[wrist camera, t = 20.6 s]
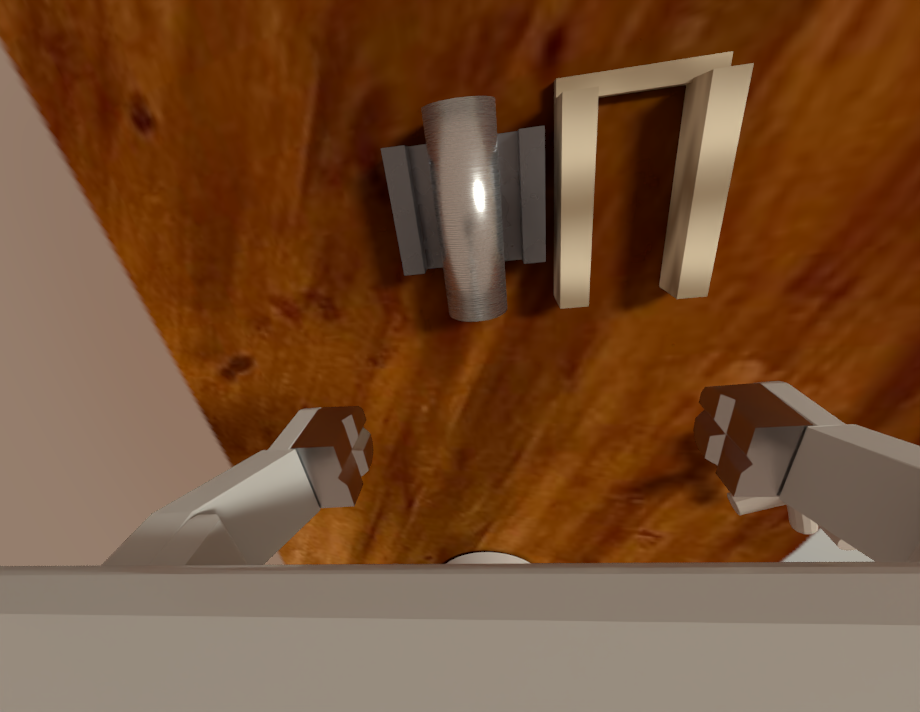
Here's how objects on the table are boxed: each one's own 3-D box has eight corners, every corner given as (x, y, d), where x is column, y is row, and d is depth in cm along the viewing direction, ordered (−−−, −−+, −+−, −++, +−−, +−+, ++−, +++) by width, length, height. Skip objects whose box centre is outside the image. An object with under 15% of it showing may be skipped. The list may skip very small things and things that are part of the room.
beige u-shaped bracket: (686, 284, 28) (707, 296, 25) (553, 295, 29) (560, 308, 26) (725, 55, 22) (758, 39, 19) (554, 81, 23) (562, 69, 20)
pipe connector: (822, 466, 35) (937, 568, 26) (711, 494, 37) (780, 595, 29) (815, 386, 31) (945, 472, 22) (691, 423, 34) (764, 514, 25)
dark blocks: (540, 252, 28) (545, 261, 25) (412, 265, 29) (404, 275, 26) (538, 130, 24) (544, 125, 21) (392, 150, 25) (380, 148, 22)
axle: (507, 298, 29) (507, 319, 25) (453, 302, 30) (445, 323, 26) (495, 104, 23) (494, 91, 19) (428, 114, 24) (414, 104, 20)
